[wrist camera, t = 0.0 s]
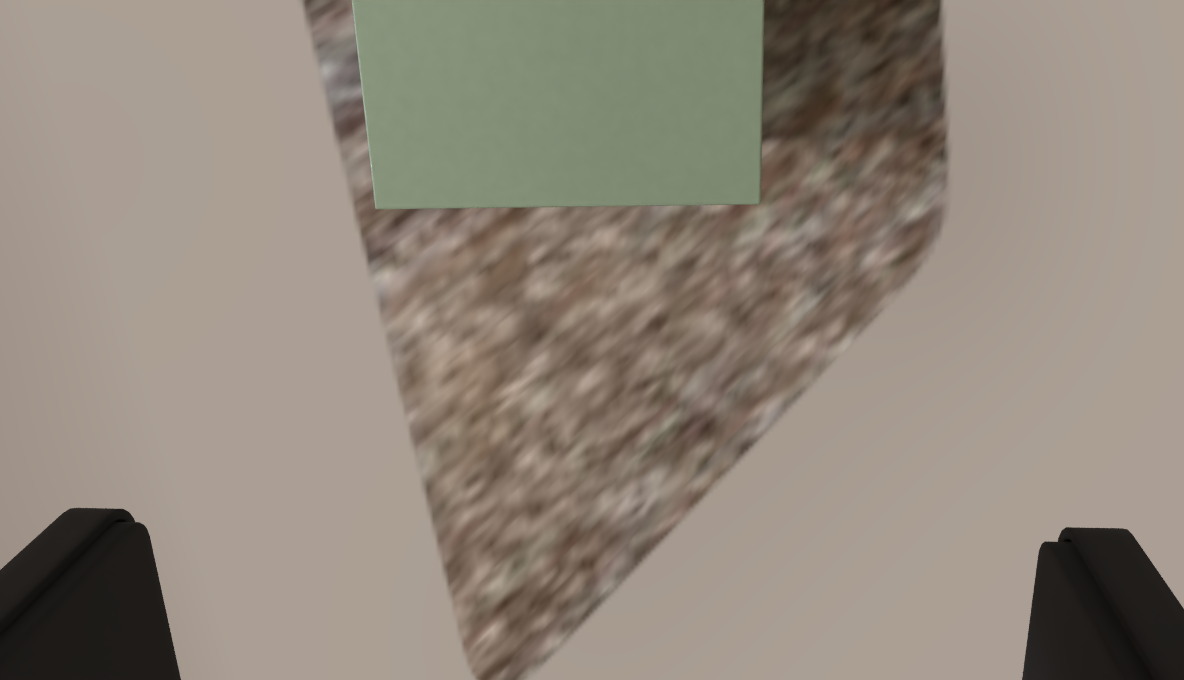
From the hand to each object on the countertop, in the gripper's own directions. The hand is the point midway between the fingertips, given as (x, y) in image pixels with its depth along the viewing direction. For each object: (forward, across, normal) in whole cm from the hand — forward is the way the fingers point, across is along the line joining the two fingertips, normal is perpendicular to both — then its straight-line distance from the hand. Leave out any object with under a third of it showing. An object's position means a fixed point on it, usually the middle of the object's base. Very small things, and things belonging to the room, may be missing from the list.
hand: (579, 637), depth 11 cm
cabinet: (+31, +3, -6) cm, 32 cm away
